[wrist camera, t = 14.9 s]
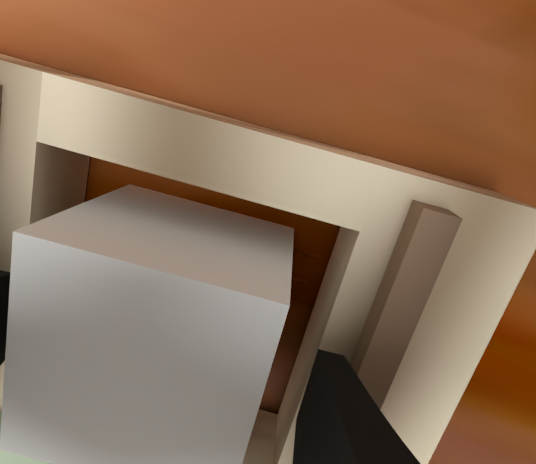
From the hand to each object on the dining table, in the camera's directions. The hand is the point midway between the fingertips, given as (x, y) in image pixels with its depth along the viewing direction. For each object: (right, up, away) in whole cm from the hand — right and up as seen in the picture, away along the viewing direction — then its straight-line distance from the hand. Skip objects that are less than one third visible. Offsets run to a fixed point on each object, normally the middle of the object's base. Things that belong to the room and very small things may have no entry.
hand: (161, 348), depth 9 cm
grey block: (0, +1, +3) cm, 3 cm away
